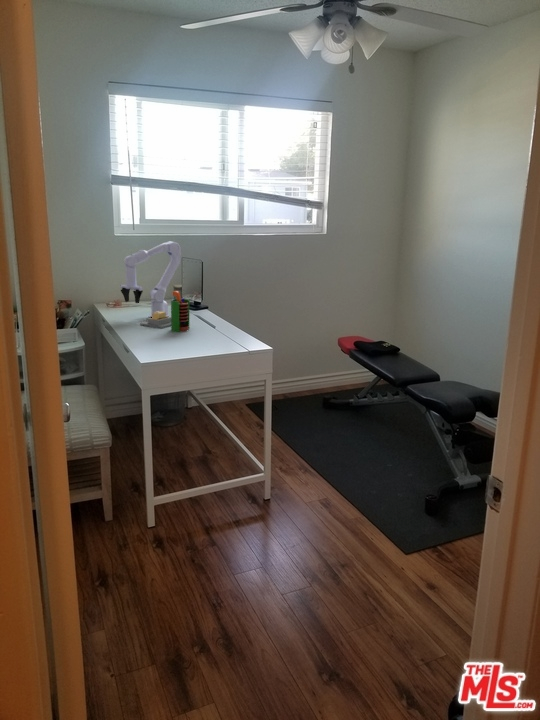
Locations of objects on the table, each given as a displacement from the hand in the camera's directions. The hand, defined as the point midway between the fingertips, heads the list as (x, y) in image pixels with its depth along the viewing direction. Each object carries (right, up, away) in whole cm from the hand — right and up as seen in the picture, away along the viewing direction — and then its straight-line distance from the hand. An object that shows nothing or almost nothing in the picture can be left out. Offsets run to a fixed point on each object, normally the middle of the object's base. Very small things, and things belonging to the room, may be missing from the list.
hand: (132, 302), depth 303 cm
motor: (+30, -17, -21) cm, 41 cm away
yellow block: (+18, -12, -11) cm, 24 cm away
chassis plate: (+18, -13, -10) cm, 24 cm away
